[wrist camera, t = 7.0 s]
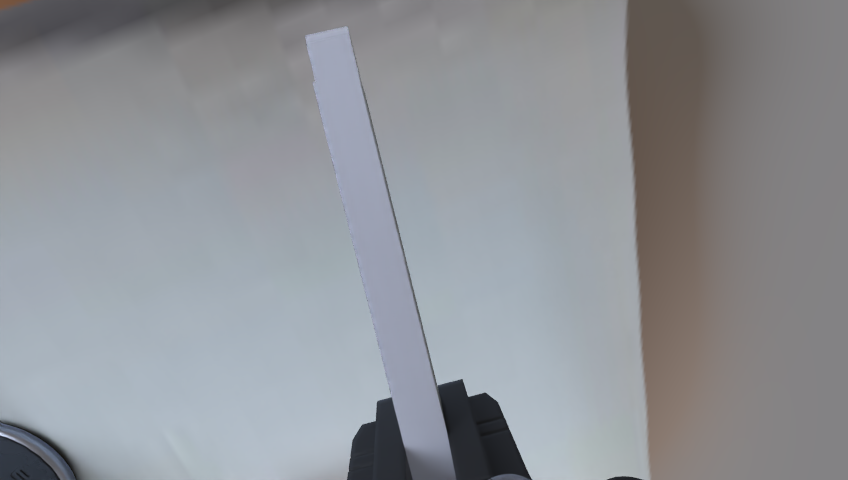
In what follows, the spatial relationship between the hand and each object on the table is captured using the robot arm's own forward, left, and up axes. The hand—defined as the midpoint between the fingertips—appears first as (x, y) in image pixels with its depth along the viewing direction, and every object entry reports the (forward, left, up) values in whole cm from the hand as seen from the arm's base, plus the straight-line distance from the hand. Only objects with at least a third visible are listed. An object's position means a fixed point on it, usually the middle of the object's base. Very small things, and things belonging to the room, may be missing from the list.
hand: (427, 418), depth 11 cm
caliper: (0, 0, -1) cm, 1 cm away
